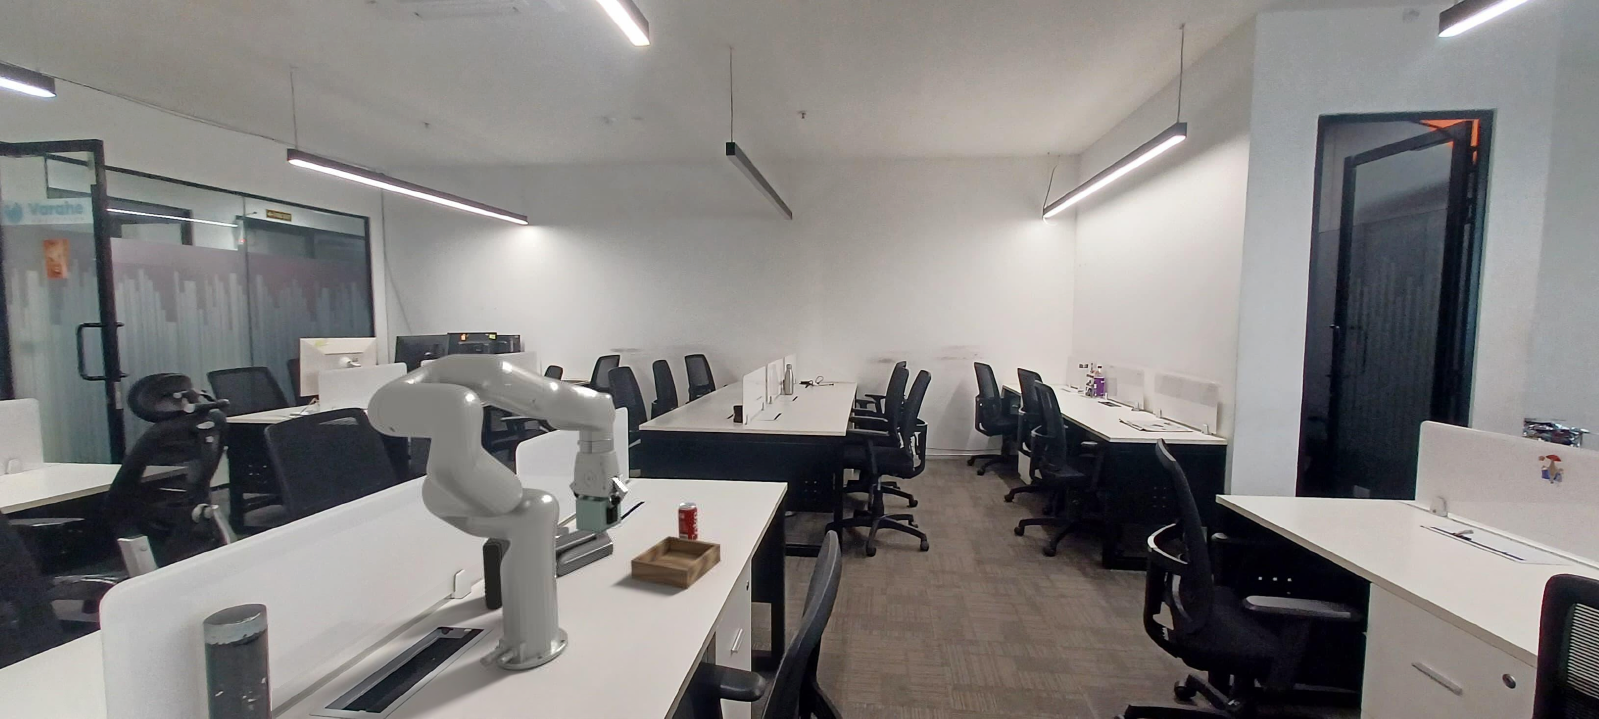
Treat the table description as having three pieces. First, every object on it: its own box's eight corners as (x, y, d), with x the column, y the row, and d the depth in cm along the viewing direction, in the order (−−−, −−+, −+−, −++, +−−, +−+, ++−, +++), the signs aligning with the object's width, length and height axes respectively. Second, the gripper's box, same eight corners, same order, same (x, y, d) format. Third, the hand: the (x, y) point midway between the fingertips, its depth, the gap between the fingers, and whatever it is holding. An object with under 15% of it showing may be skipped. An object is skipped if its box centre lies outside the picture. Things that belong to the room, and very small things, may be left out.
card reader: (495, 591, 128) (492, 529, 127) (514, 588, 129) (511, 527, 128) (483, 611, 119) (479, 544, 118) (503, 608, 120) (500, 542, 119)
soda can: (691, 541, 156) (690, 500, 156) (701, 546, 153) (700, 504, 152) (675, 546, 153) (674, 505, 152) (685, 552, 149) (684, 509, 148)
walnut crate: (687, 588, 129) (686, 570, 128) (631, 577, 134) (631, 560, 134) (720, 560, 143) (720, 544, 143) (669, 552, 149) (668, 536, 149)
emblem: (537, 518, 162) (629, 517, 162) (537, 535, 163) (629, 535, 162) (480, 559, 134) (591, 559, 134) (481, 580, 135) (592, 579, 134)
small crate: (600, 532, 123) (599, 502, 122) (576, 529, 125) (575, 499, 125) (621, 522, 129) (620, 493, 129) (597, 519, 132) (596, 490, 132)
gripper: (555, 446, 126) (558, 521, 127) (616, 452, 120) (618, 531, 121) (579, 440, 133) (581, 511, 134) (637, 445, 127) (639, 519, 128)
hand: (599, 520), depth 127 cm, fingers closed on small crate, 7 cm apart
